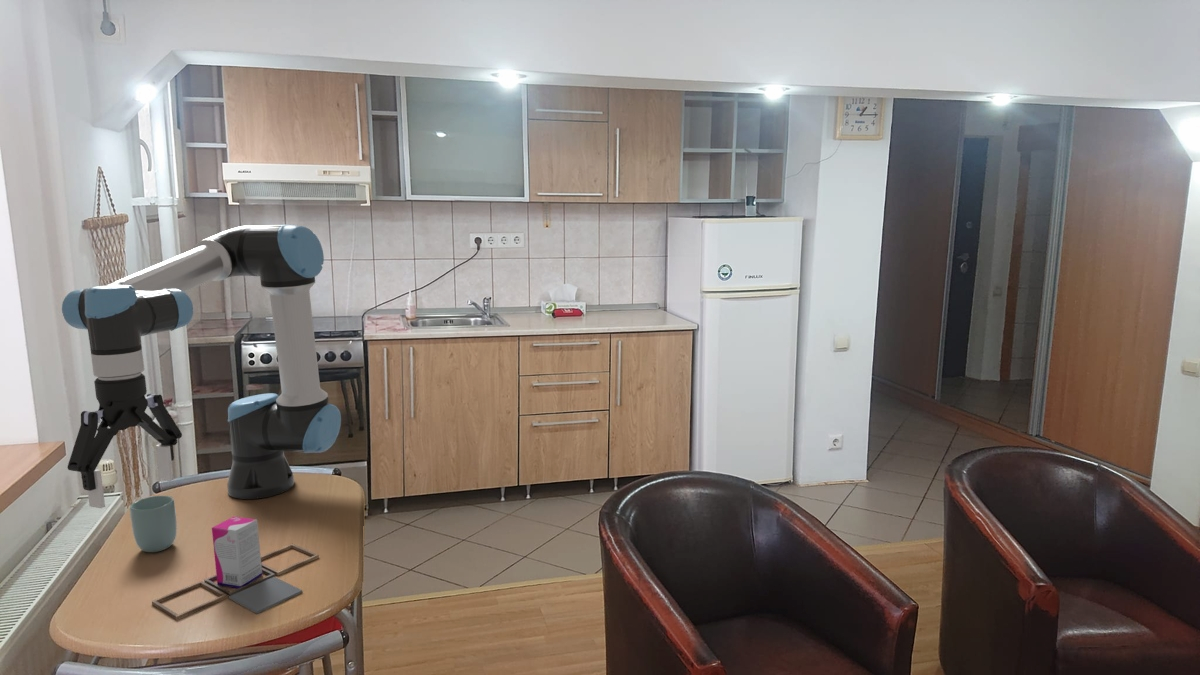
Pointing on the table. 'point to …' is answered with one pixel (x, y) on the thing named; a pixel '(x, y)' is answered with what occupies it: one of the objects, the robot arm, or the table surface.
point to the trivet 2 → (314, 556)
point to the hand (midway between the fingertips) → (133, 492)
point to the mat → (265, 594)
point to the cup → (154, 523)
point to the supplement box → (237, 552)
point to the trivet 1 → (178, 616)
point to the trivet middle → (229, 593)
